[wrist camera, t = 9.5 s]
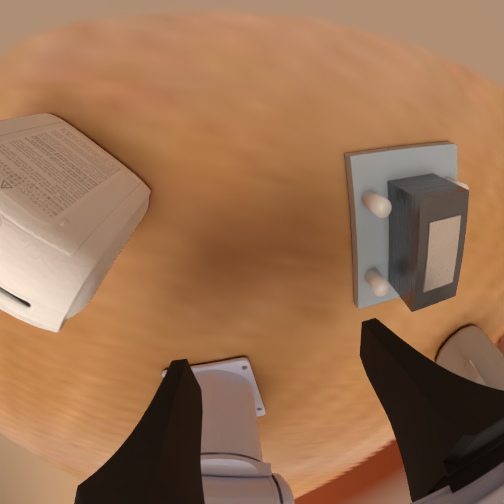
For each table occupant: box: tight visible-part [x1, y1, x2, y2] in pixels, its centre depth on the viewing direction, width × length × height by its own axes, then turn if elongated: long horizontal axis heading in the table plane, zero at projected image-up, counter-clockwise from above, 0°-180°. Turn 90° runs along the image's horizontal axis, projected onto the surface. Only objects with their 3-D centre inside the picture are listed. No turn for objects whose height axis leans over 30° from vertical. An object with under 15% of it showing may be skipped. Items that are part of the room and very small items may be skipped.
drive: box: [387, 173, 469, 312], centre depth 18 cm, size 8×4×4 cm, turn 12°
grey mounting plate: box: [344, 141, 469, 309], centre depth 20 cm, size 12×9×3 cm
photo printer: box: [0, 113, 151, 332], centre depth 12 cm, size 10×4×12 cm, turn 49°
